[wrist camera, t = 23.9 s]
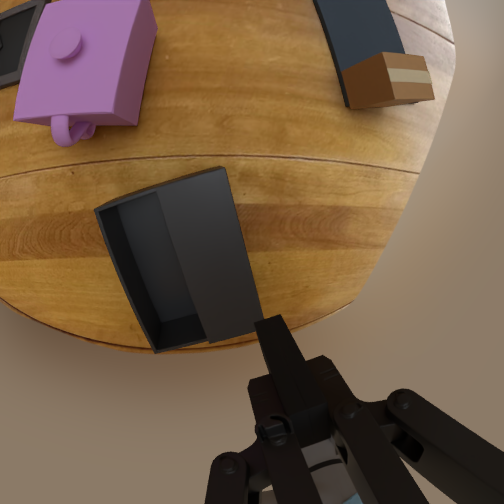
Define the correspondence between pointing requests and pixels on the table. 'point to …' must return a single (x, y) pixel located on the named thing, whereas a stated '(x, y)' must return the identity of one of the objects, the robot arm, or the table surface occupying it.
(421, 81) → the parcel
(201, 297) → the flap
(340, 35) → the mat
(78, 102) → the teapot
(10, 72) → the picture frame
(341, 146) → the table surface
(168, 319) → the carton
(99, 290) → the table surface
